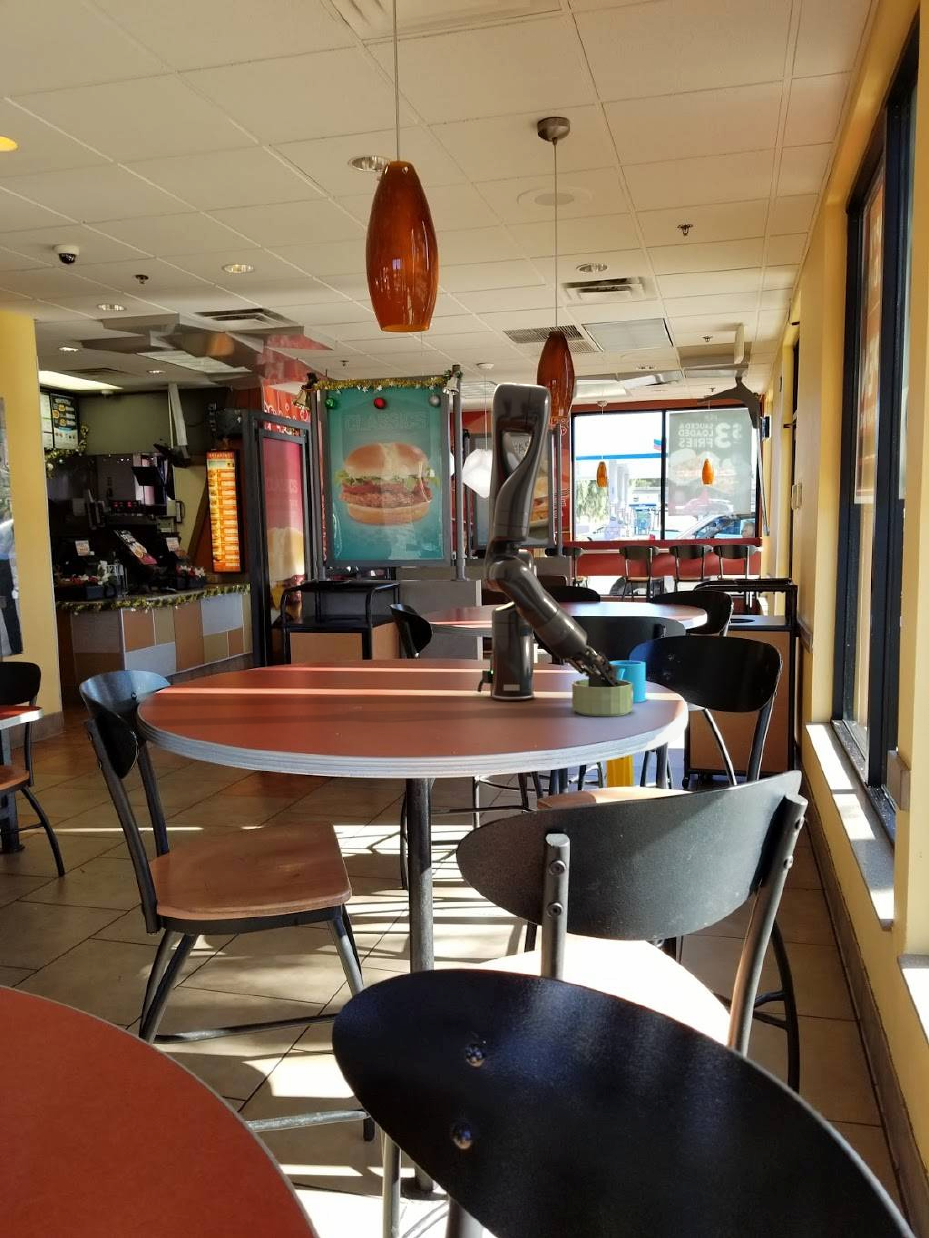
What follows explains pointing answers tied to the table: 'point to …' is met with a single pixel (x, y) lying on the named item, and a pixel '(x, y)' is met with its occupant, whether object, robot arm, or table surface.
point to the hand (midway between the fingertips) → (610, 686)
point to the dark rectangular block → (599, 679)
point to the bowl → (602, 699)
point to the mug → (632, 676)
